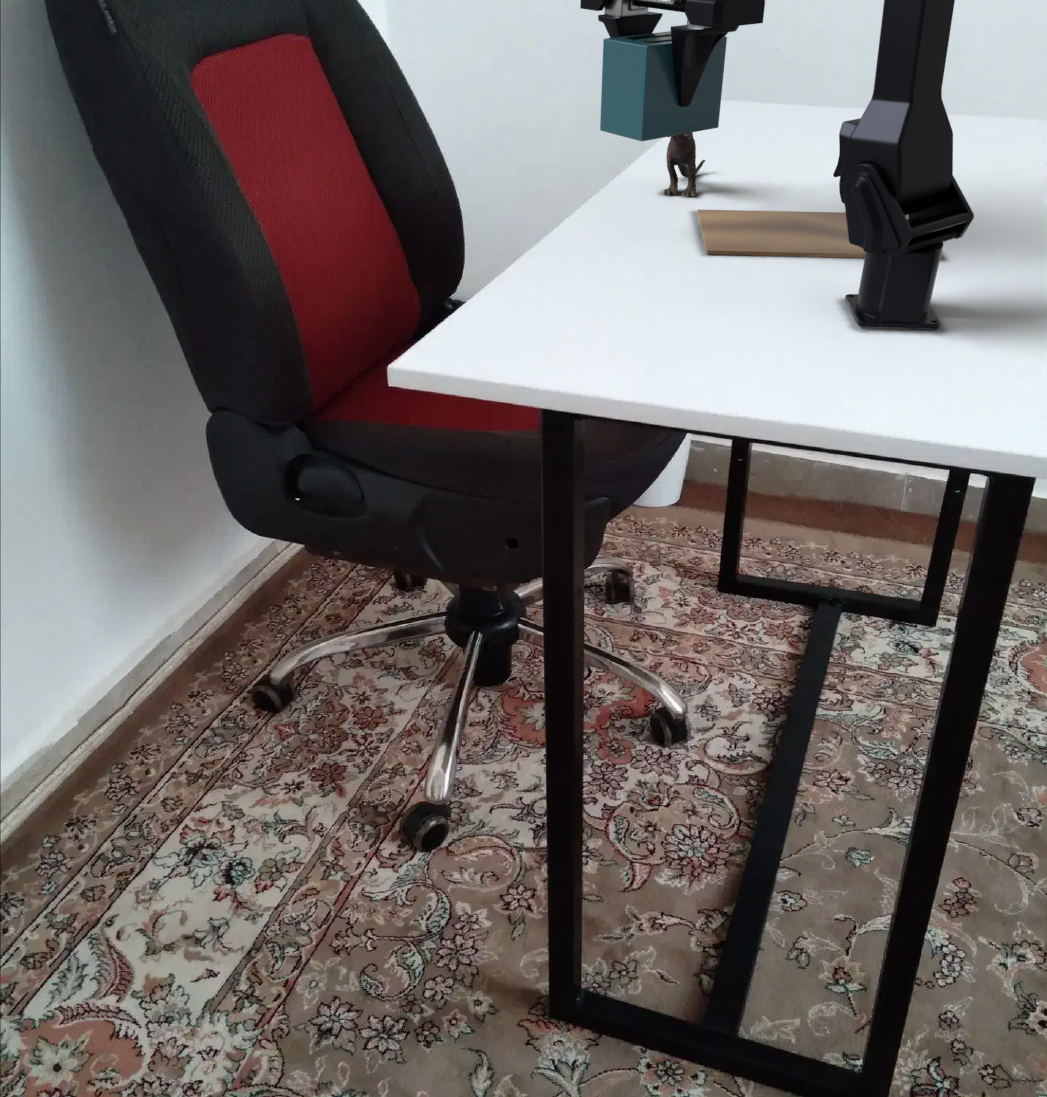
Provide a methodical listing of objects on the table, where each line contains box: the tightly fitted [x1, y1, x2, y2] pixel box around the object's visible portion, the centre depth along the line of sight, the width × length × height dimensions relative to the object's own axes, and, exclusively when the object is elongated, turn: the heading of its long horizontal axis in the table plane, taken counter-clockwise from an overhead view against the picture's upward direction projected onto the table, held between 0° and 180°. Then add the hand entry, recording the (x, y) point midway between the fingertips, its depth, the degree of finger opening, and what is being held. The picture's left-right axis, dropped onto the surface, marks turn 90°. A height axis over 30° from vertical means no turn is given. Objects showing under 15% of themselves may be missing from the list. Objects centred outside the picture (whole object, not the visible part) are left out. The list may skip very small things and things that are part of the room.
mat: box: [696, 209, 943, 261], centre depth 104 cm, size 14×22×1 cm, turn 86°
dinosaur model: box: [663, 132, 706, 197], centre depth 117 cm, size 4×12×15 cm
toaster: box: [599, 30, 728, 142], centre depth 98 cm, size 11×6×8 cm, turn 126°
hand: (661, 101), depth 98 cm, fingers closed on toaster, 6 cm apart
